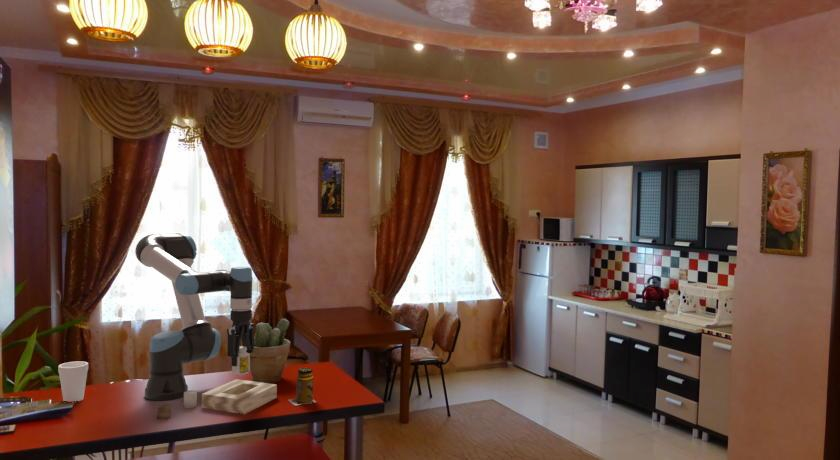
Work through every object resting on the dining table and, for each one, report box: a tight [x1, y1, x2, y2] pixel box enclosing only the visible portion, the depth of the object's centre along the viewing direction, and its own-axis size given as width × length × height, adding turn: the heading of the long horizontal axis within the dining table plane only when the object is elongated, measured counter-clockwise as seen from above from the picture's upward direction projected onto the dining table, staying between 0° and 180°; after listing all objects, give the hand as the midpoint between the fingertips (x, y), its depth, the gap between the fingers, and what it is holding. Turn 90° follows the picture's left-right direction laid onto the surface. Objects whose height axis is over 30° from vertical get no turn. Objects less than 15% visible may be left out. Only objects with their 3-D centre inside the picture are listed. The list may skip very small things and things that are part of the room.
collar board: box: [201, 378, 278, 415], centre depth 222 cm, size 18×20×5 cm
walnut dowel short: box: [156, 403, 172, 420], centre depth 205 cm, size 4×4×4 cm
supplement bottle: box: [238, 345, 250, 376], centre depth 221 cm, size 5×5×10 cm
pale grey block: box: [183, 389, 198, 409], centre depth 217 cm, size 4×4×5 cm
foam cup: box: [57, 360, 89, 403], centre depth 221 cm, size 10×9×13 cm
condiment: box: [288, 367, 317, 406], centre depth 224 cm, size 7×8×12 cm
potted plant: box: [249, 318, 291, 384], centre depth 251 cm, size 18×19×25 cm
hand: (241, 372), depth 221 cm, fingers closed on supplement bottle, 5 cm apart
